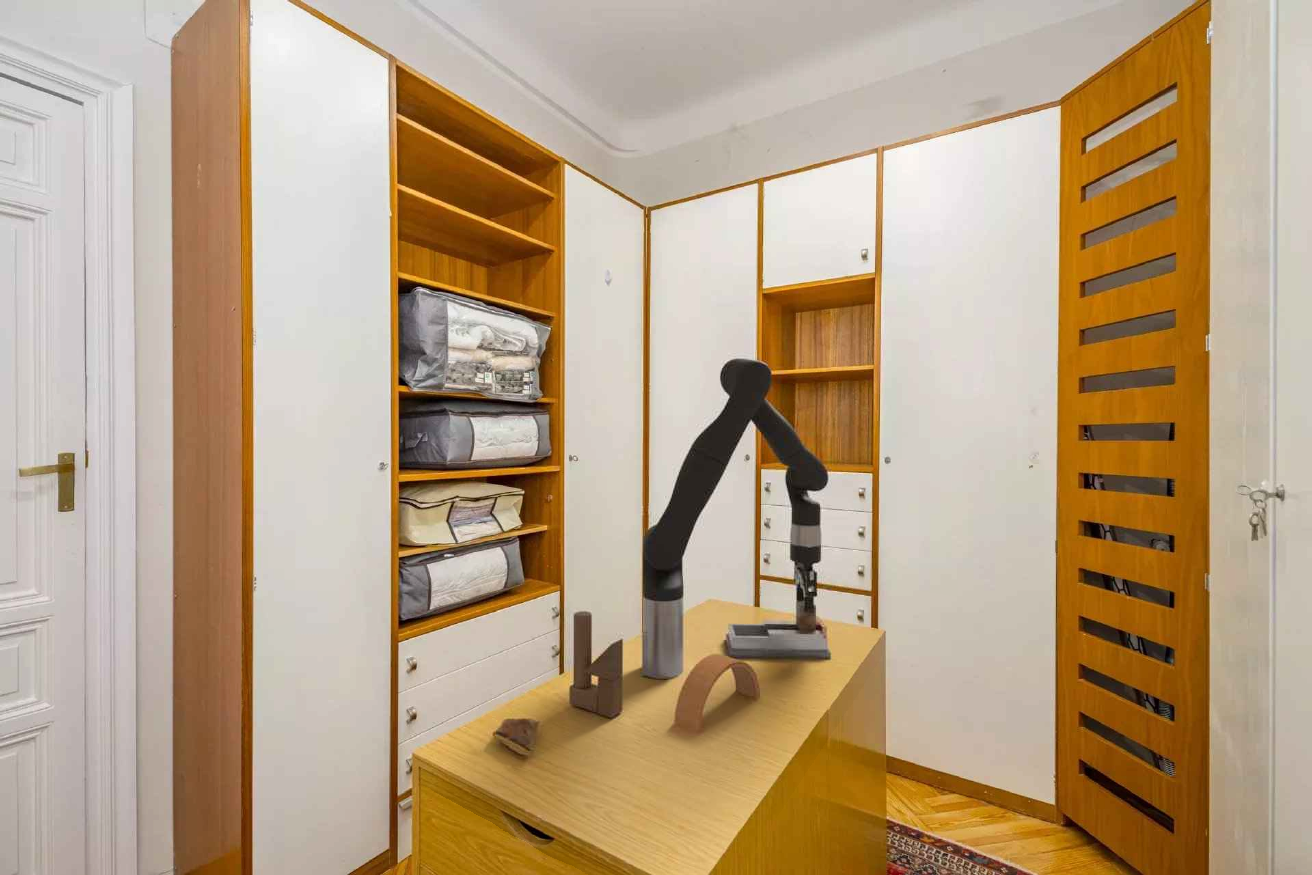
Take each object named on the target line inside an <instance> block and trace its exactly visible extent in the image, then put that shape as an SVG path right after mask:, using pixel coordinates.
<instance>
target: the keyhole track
mask: <svg viewBox="0 0 1312 875" xmlns="http://www.w3.org/2000/svg"><path fill="white" fill-rule="evenodd" d="M827 629H828V628H827V626H826V625H825V623H824V621H822V619H821V618H820V617H819V616H817V615H816V630H799V628H798V627H797V625H796V620H773V619H771V620H770V619H766V620H764V619H763V620H762V623H727V633H725V641H726V642H725V643H726V646H727V651H728V655H729V657H731V658H740V659H742V658H743V659H744V658H746V659H748V658H749V659H755V658H756V659H765V658H766V659H829V660H830V659H832V652H831V651H830V650H829V648H828V646H829V644H828V643H829V642H828V640H829V639H828V637H827V636H828V635H827V633H828V632H827V631H828V630H827Z"/></svg>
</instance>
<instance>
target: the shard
mask: <svg viewBox="0 0 1312 875" xmlns="http://www.w3.org/2000/svg"><path fill="white" fill-rule="evenodd" d="M539 725H540V721H539V720H535V719H531V718H505V719H503V720H502V722H501V723H500V726H499V727H498V728H497V729H496V730H495V731H493V733H492V738H493V739H494V740H495V741H499V742H501V743H502V744H503V745H506V746H507V747H508V748H510V749H511V750H513V751H515V752H516V753H517V754H520V755H524V756H526V757H529V758H530V757H531V754H532V748H533V744H534V740H535V739H536V735H537V733H538V730H539V727H540V726H539Z"/></svg>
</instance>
